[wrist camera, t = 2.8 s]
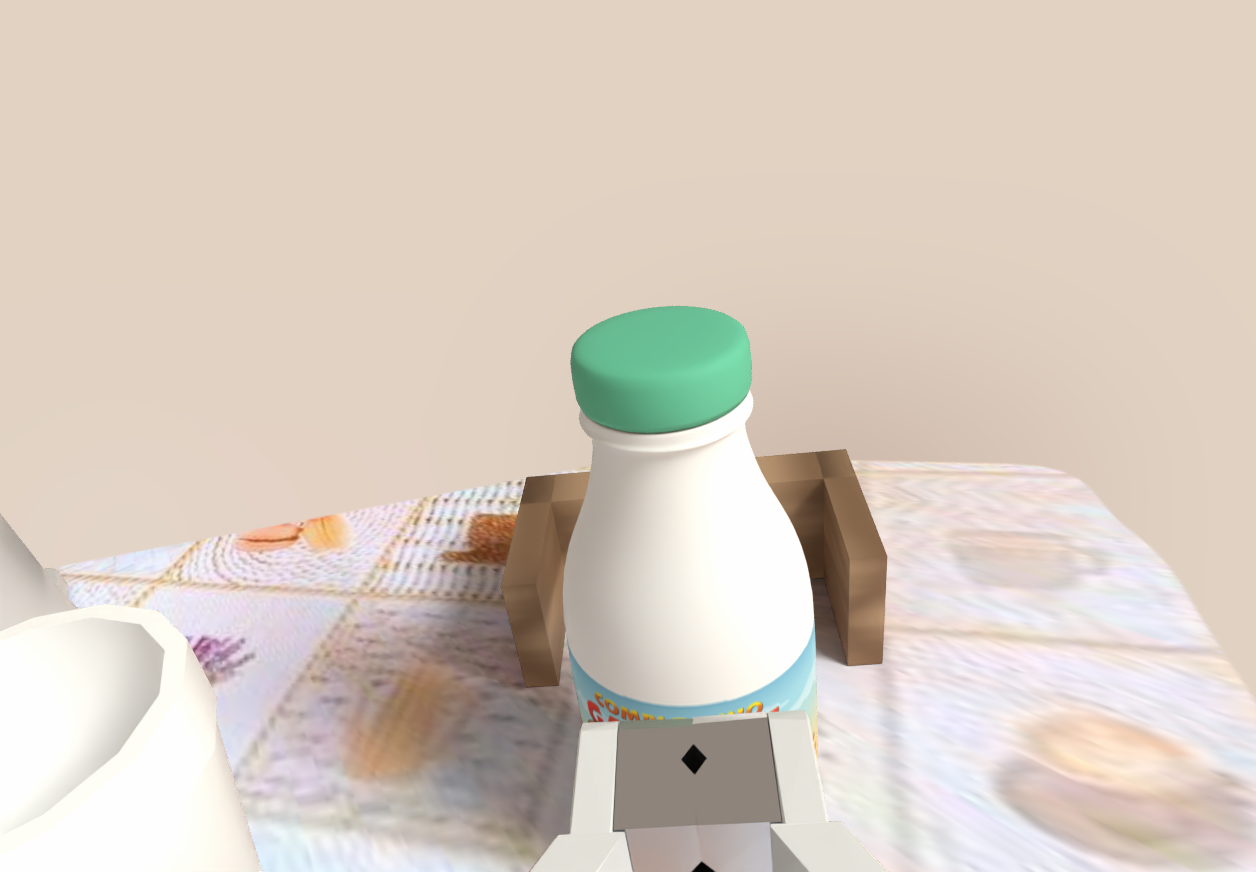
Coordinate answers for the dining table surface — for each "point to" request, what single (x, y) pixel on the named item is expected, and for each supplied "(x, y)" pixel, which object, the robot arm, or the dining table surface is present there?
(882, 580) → the walnut dock
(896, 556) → the dining table surface
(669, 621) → the milk bottle
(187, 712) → the foam cup
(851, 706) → the dining table surface
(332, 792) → the dining table surface
